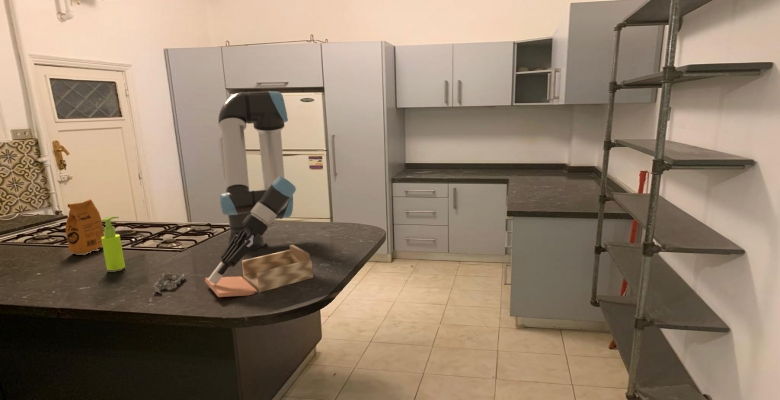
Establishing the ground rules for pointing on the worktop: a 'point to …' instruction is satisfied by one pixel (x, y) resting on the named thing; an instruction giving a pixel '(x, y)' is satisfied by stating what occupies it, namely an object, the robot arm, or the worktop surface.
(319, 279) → the worktop surface
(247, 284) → the panel
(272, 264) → the wooden open box
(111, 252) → the soap dispenser
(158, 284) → the egg carton
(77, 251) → the coffee package
